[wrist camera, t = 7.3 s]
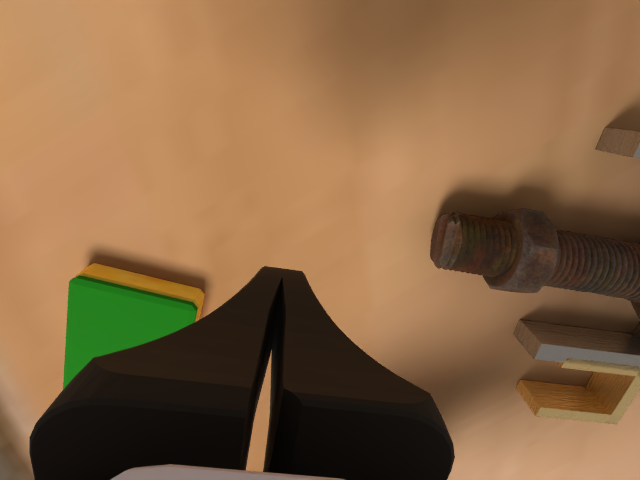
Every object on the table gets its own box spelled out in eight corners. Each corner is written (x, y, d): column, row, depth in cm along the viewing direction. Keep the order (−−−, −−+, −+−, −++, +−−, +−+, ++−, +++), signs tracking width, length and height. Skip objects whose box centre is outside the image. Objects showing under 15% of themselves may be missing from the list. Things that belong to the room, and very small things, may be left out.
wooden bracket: (590, 396, 27) (616, 424, 25) (515, 388, 27) (535, 416, 24) (622, 342, 25) (653, 368, 23) (542, 332, 25) (566, 357, 23)
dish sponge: (79, 417, 27) (58, 447, 25) (92, 258, 22) (68, 277, 20) (174, 435, 28) (163, 465, 26) (207, 286, 23) (196, 307, 21)
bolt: (423, 206, 23) (641, 243, 24) (414, 284, 23) (639, 319, 23) (467, 180, 17) (752, 230, 18) (457, 284, 17) (752, 331, 18)
